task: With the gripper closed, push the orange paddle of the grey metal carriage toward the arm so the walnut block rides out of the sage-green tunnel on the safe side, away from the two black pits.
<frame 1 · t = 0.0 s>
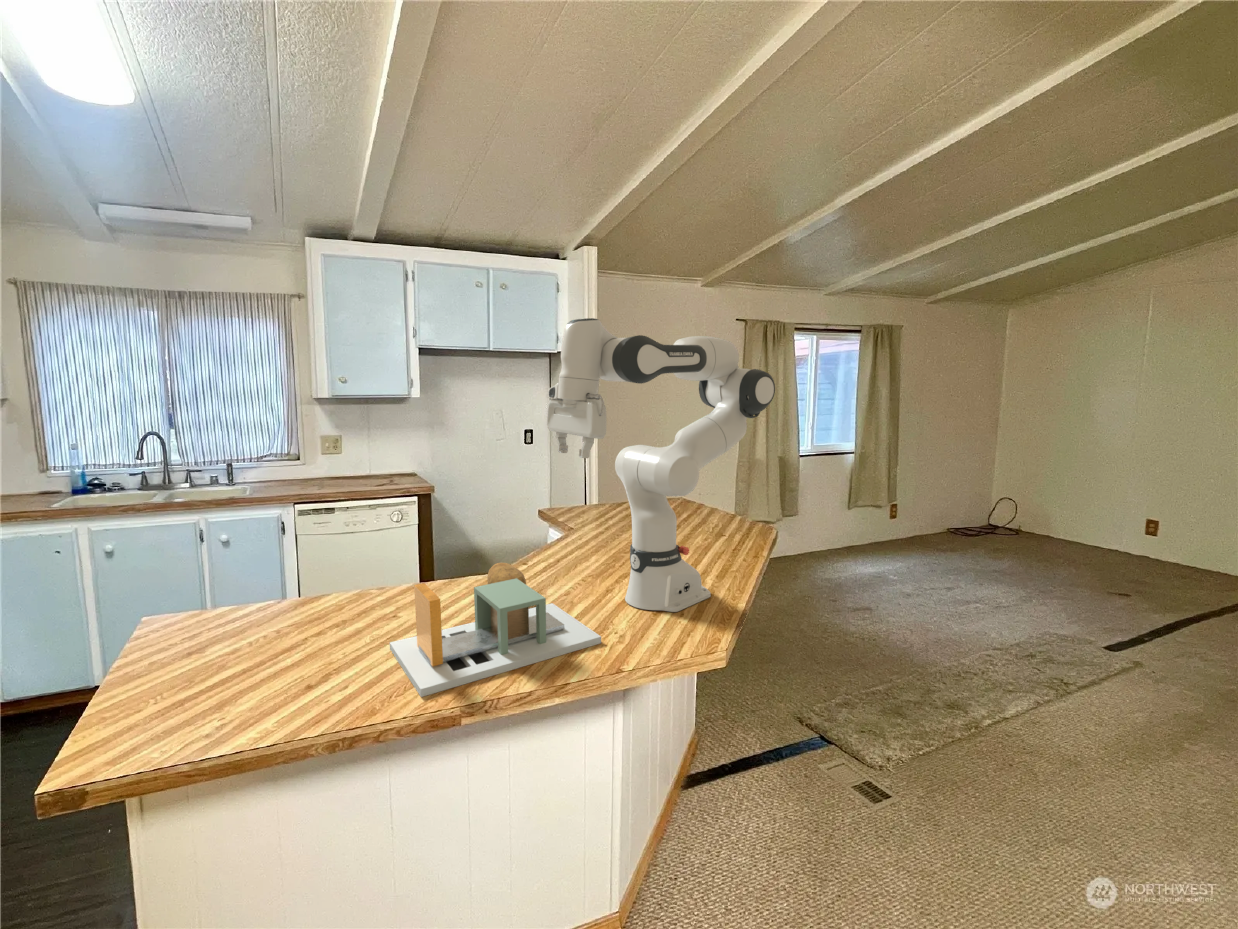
hand: (573, 455, 131), 39 cm above the table, tool pointing down, fingers open, 8 cm apart
tunnel: (509, 614, 125), on the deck, point 6 cm above the table
carriage: (493, 608, 123), point 8 cm above the table, slide at 0.0 cm
potato: (507, 598, 152), on the table
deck: (510, 642, 126), on the table
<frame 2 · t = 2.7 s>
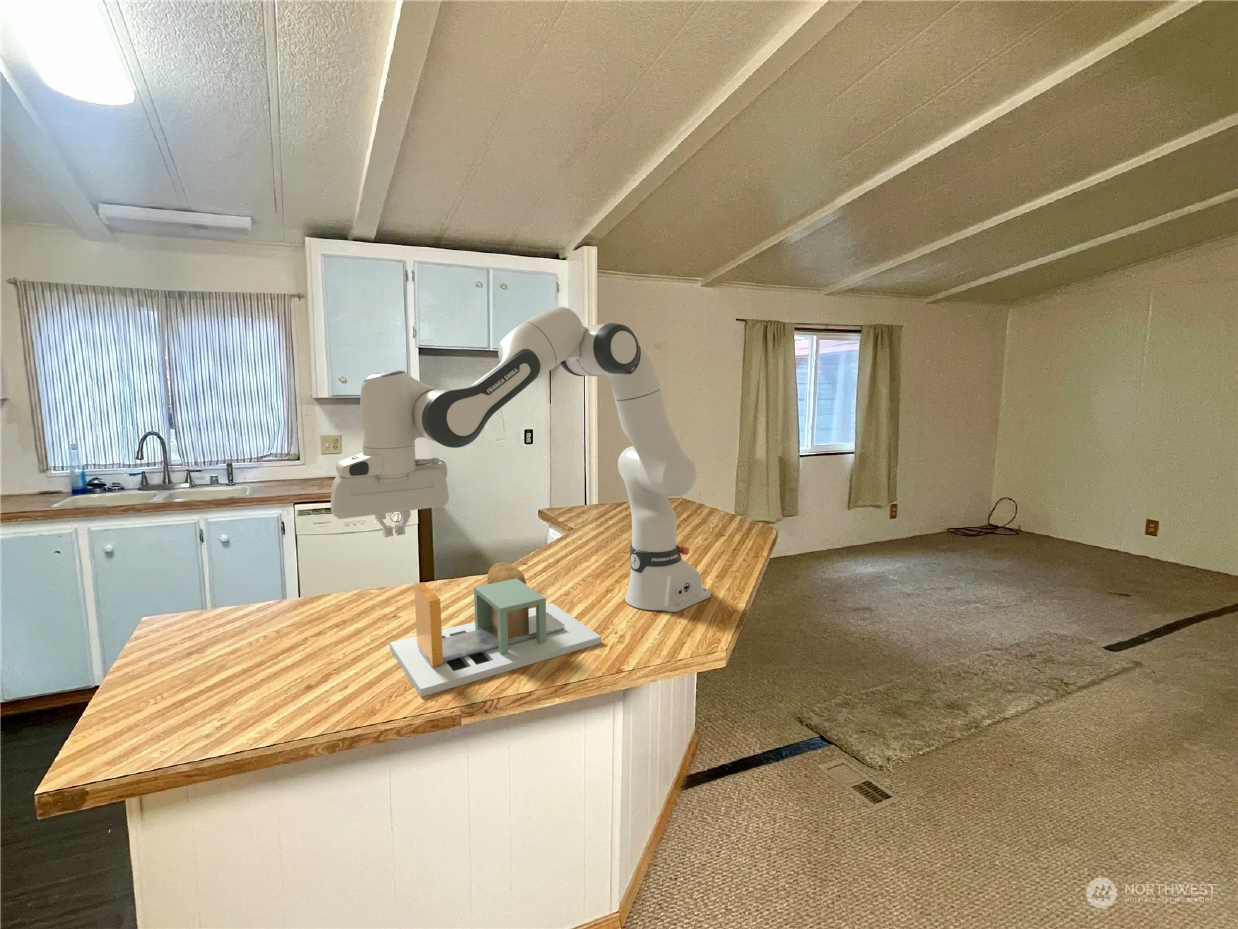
hand: (394, 535, 110), 27 cm above the table, tool pointing down, fingers closed
nothing on the table moved.
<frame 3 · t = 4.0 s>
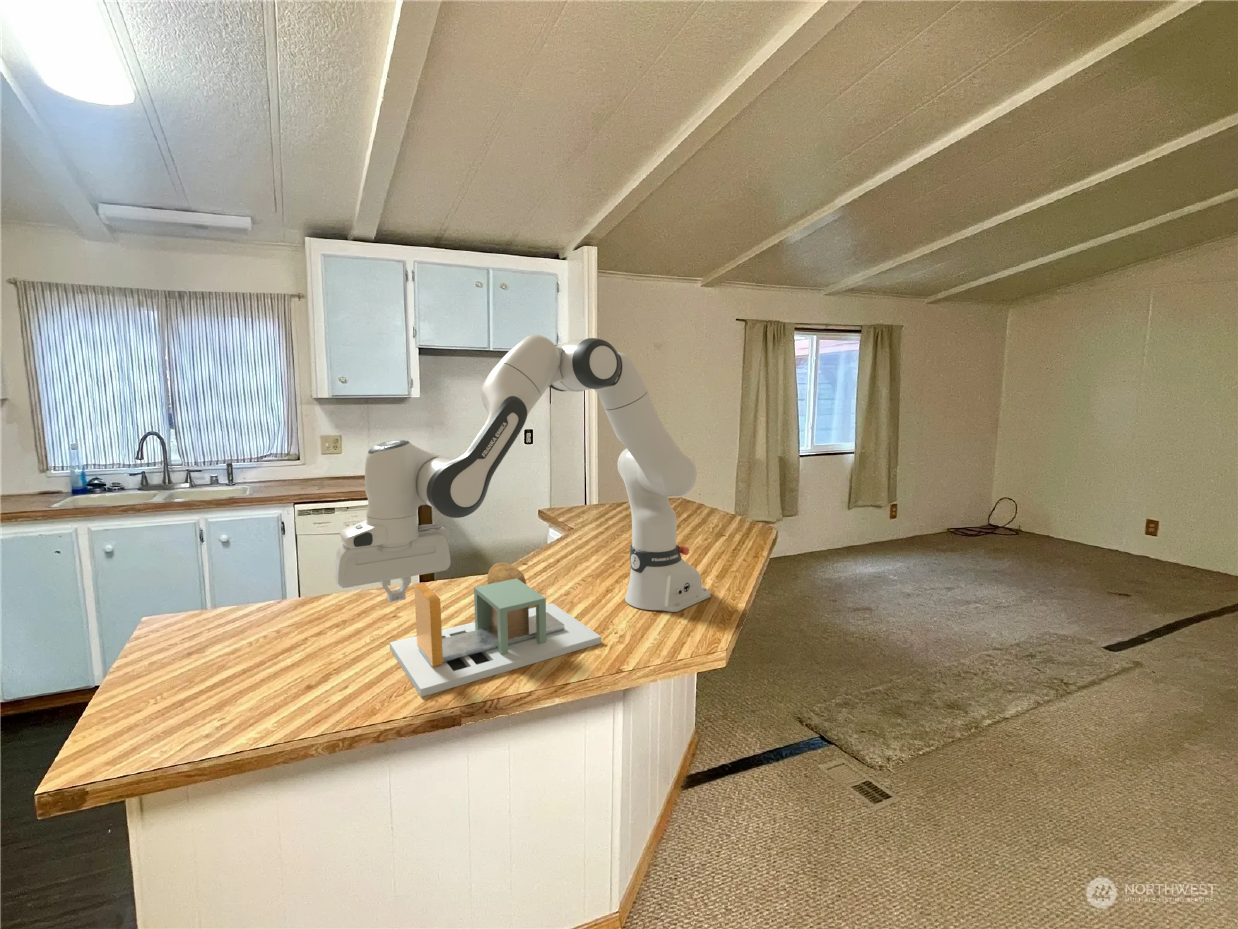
hand: (396, 600, 112), 14 cm above the table, tool pointing down, fingers closed
nothing on the table moved.
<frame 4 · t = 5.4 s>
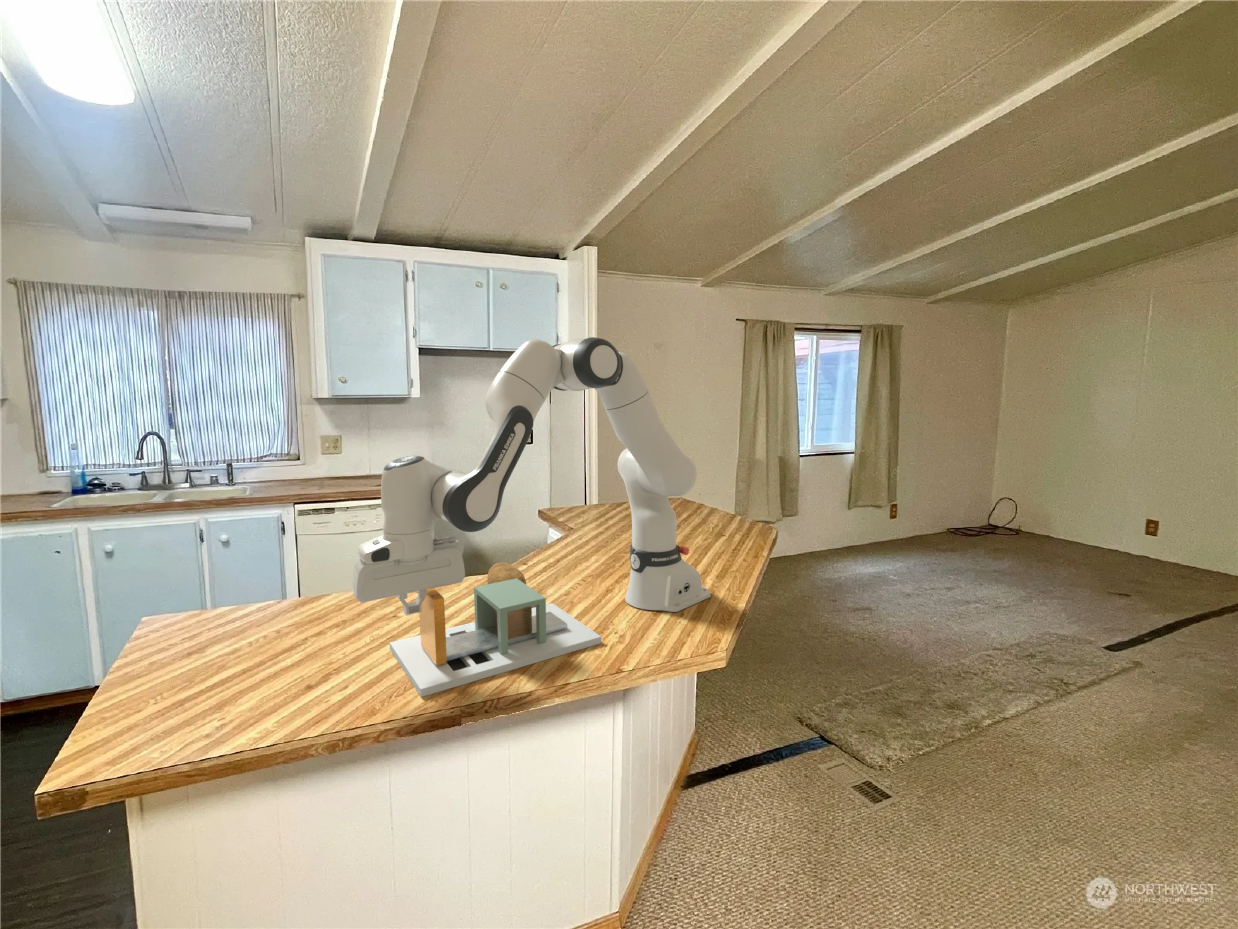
hand: (413, 613, 114), 11 cm above the table, tool pointing down, fingers closed
carriage: (496, 608, 124), point 8 cm above the table, slide at -0.7 cm, touching gripper
everything else where it was.
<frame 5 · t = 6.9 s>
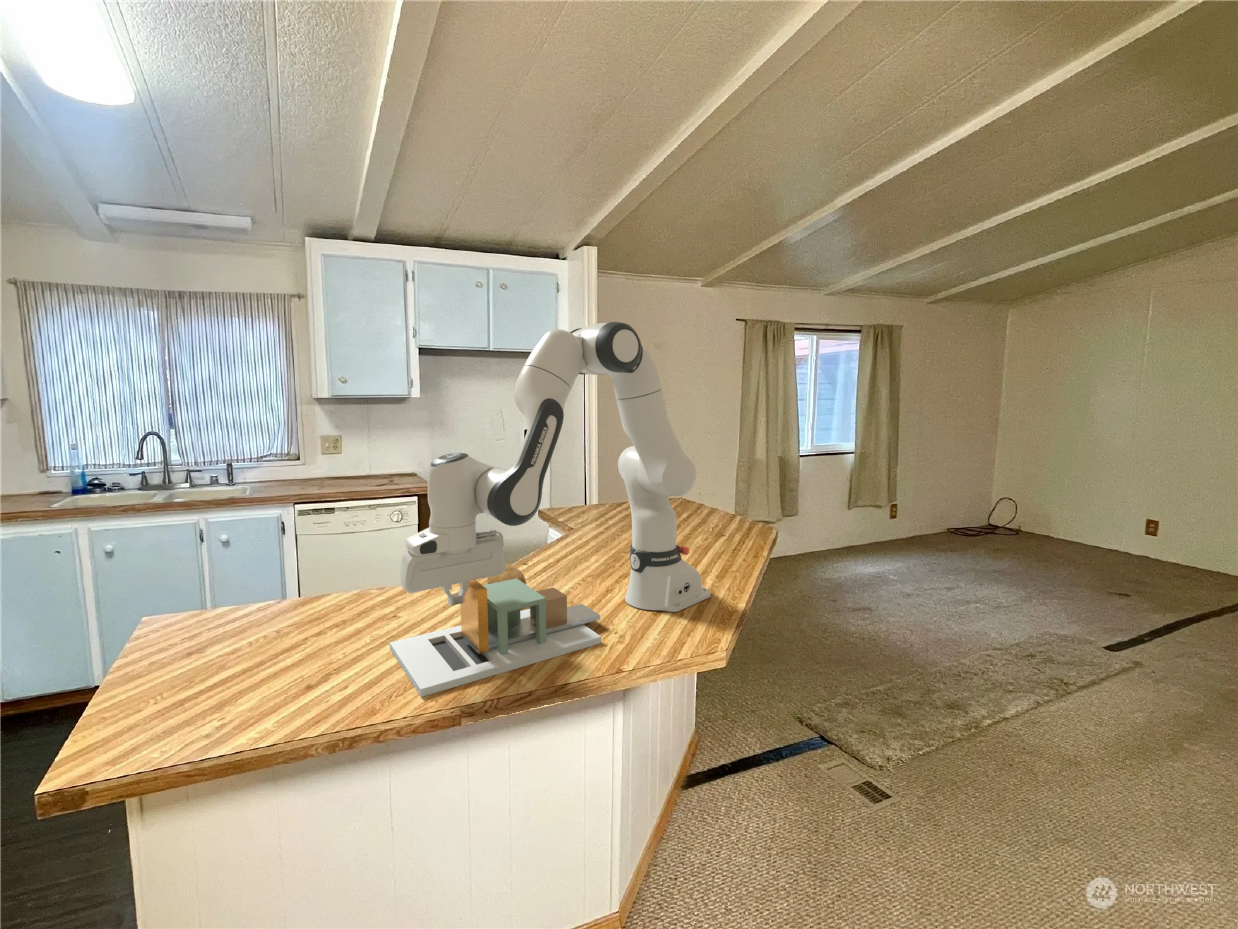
hand: (456, 603, 118), 11 cm above the table, tool pointing down, fingers closed
carriage: (533, 599, 128), point 8 cm above the table, slide at -9.2 cm, touching gripper
everything else where it was.
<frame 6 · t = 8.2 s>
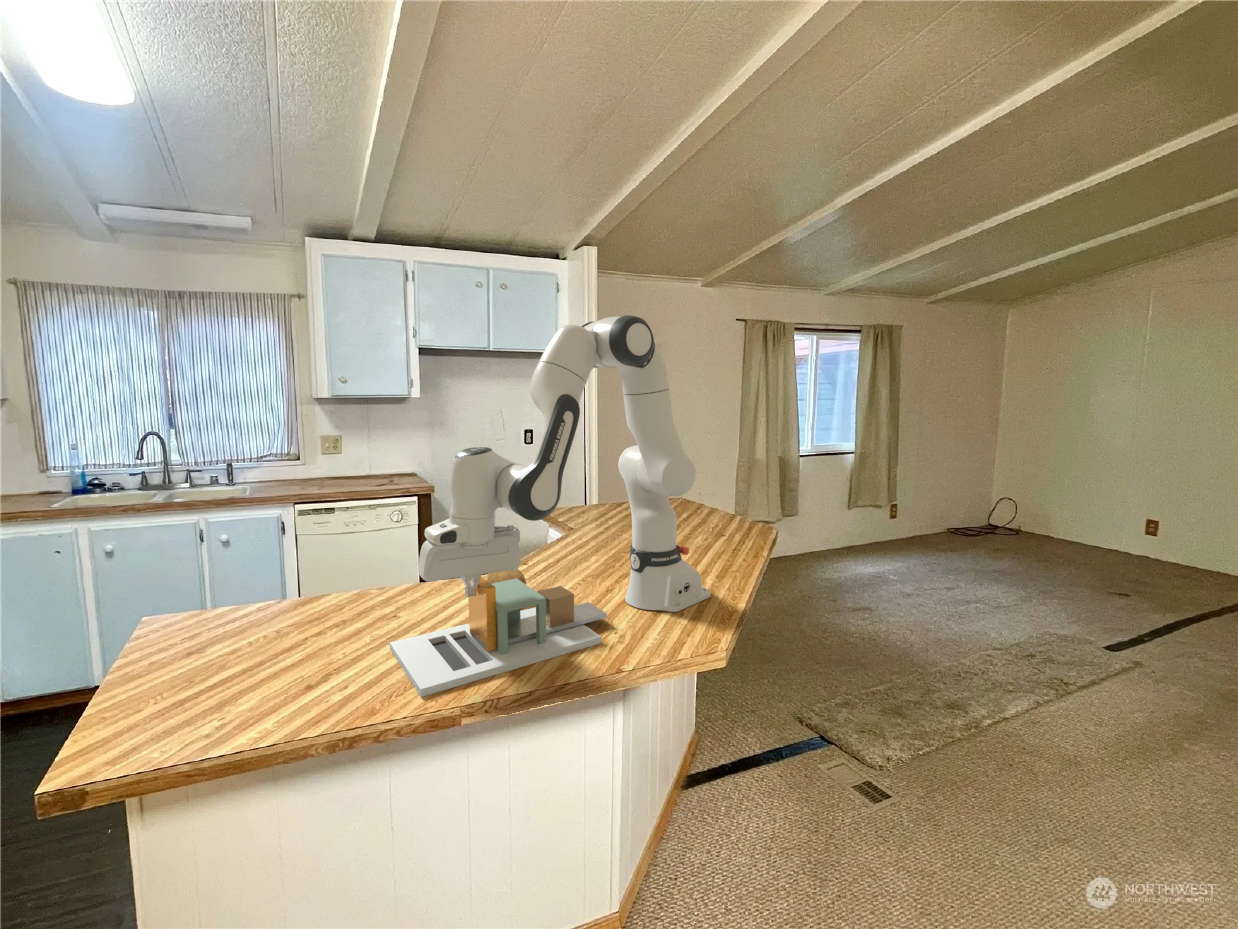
hand: (470, 595, 120), 12 cm above the table, tool pointing down, fingers closed, pressing on carriage
carriage: (541, 597, 129), point 8 cm above the table, slide at -11.0 cm, touching gripper, tunnel
everything else where it was.
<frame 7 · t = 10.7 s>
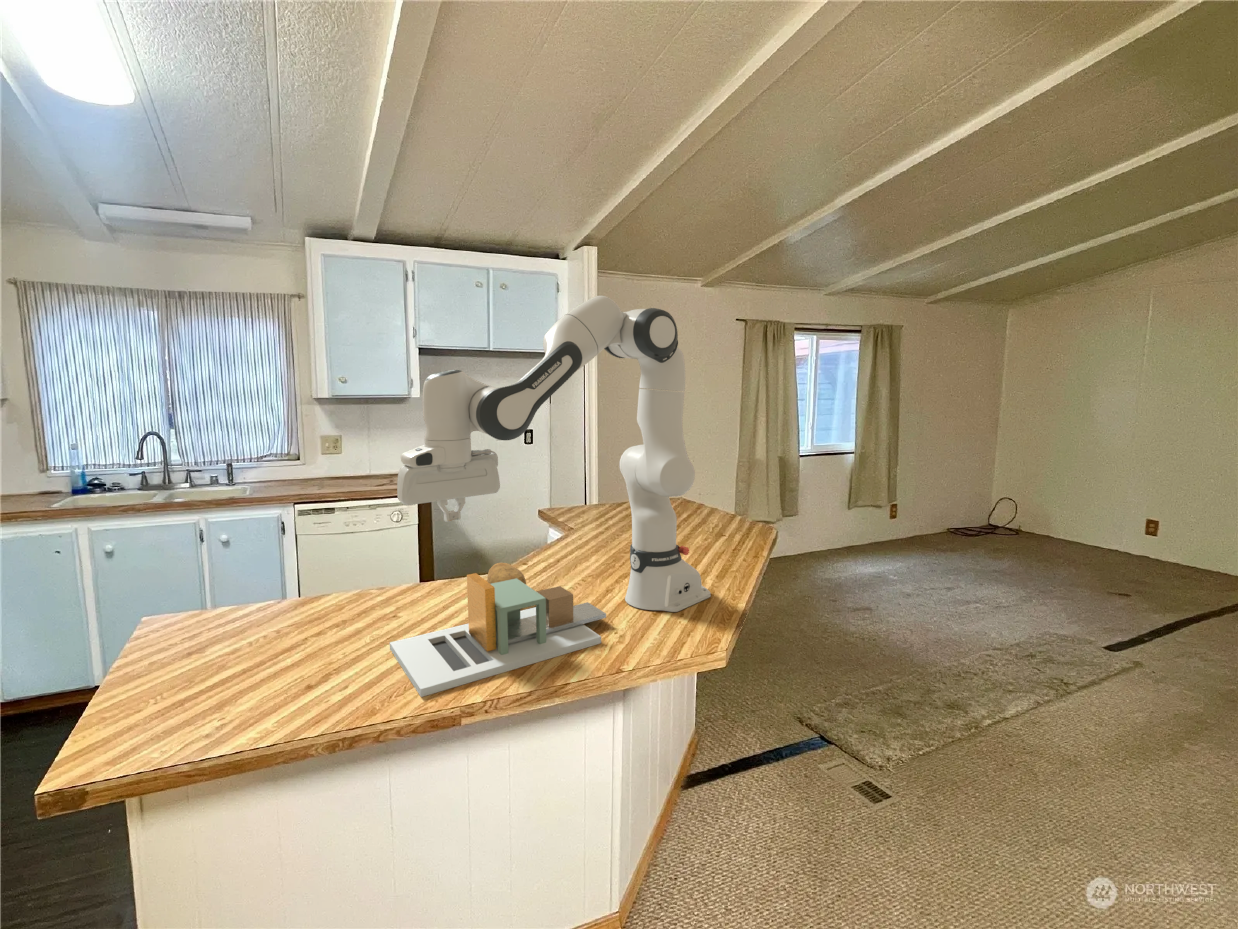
hand: (452, 520, 120), 27 cm above the table, tool pointing down, fingers closed
carriage: (540, 597, 129), point 8 cm above the table, slide at -10.8 cm
everything else where it was.
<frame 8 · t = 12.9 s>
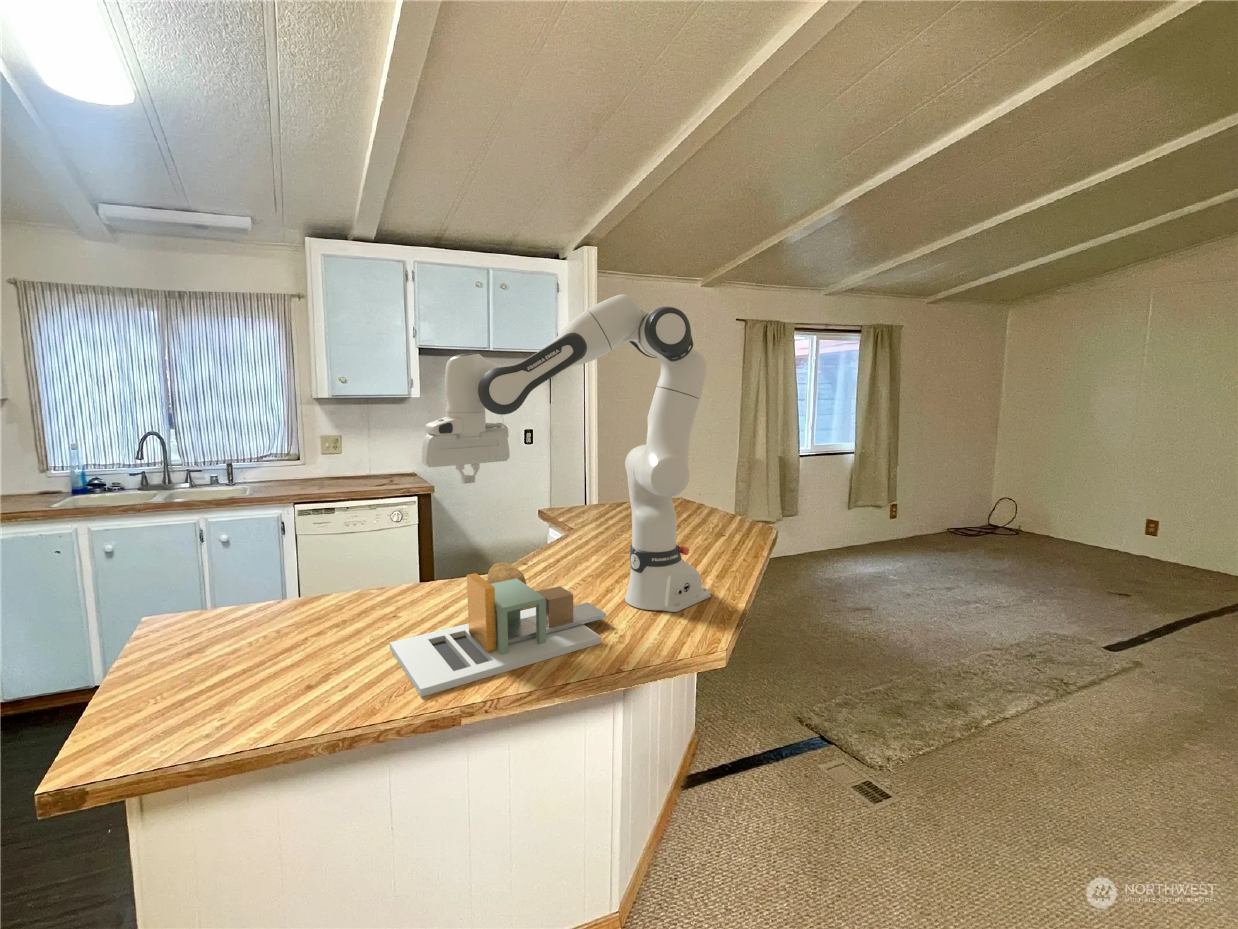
hand: (468, 483, 139), 31 cm above the table, tool pointing down, fingers closed
nothing on the table moved.
at the end: carriage slide at -10.8 cm; carriage 0.2 cm from the target spot, resting on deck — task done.
